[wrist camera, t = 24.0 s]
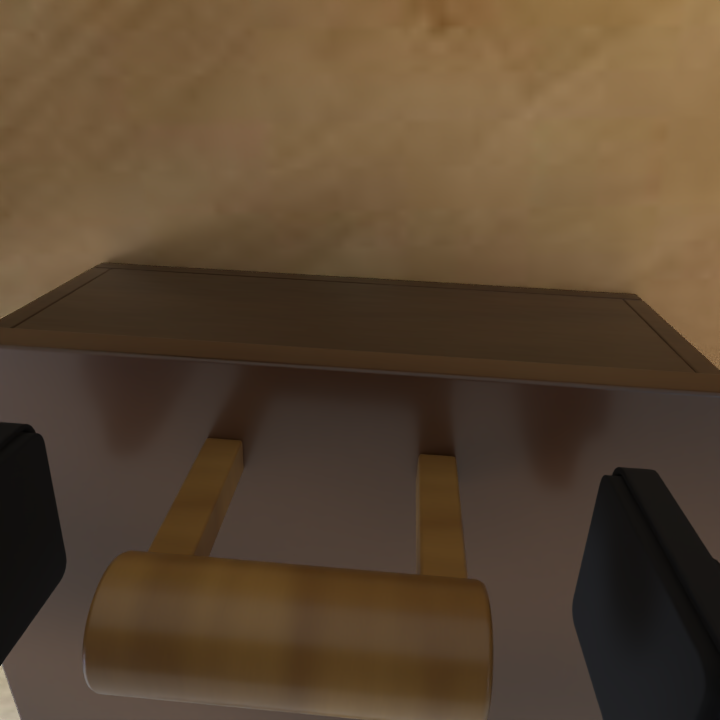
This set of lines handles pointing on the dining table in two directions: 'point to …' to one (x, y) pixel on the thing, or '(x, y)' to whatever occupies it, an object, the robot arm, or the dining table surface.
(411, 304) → the chest
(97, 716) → the lid
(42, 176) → the dining table surface
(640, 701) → the robot arm
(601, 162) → the dining table surface
